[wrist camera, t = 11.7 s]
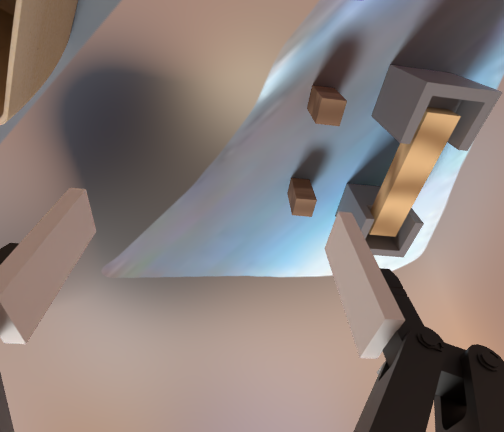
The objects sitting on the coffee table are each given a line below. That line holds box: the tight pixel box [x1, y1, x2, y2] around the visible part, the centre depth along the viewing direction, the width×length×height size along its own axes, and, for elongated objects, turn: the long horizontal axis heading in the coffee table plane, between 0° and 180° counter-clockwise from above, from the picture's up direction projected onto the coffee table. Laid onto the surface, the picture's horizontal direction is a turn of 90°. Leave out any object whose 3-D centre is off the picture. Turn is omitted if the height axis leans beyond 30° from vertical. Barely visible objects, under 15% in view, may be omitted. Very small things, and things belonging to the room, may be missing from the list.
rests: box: [287, 85, 347, 217], centre depth 42 cm, size 17×3×6 cm, turn 173°
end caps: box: [335, 65, 502, 257], centre depth 41 cm, size 24×8×10 cm, turn 173°
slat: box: [369, 107, 461, 237], centre depth 39 cm, size 18×4×2 cm, turn 173°
